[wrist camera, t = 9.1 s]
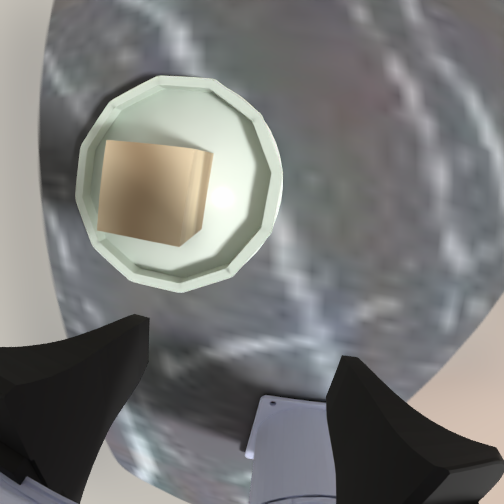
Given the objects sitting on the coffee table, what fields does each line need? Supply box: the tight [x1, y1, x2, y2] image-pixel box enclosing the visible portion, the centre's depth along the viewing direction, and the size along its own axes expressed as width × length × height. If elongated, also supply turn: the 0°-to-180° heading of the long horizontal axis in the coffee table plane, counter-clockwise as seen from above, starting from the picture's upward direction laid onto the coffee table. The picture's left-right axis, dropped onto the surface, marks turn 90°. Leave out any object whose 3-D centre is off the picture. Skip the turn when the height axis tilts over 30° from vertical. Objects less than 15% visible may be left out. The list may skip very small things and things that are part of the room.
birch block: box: [97, 140, 214, 247], centre depth 16 cm, size 4×4×4 cm
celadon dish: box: [75, 76, 283, 293], centre depth 18 cm, size 13×13×2 cm
